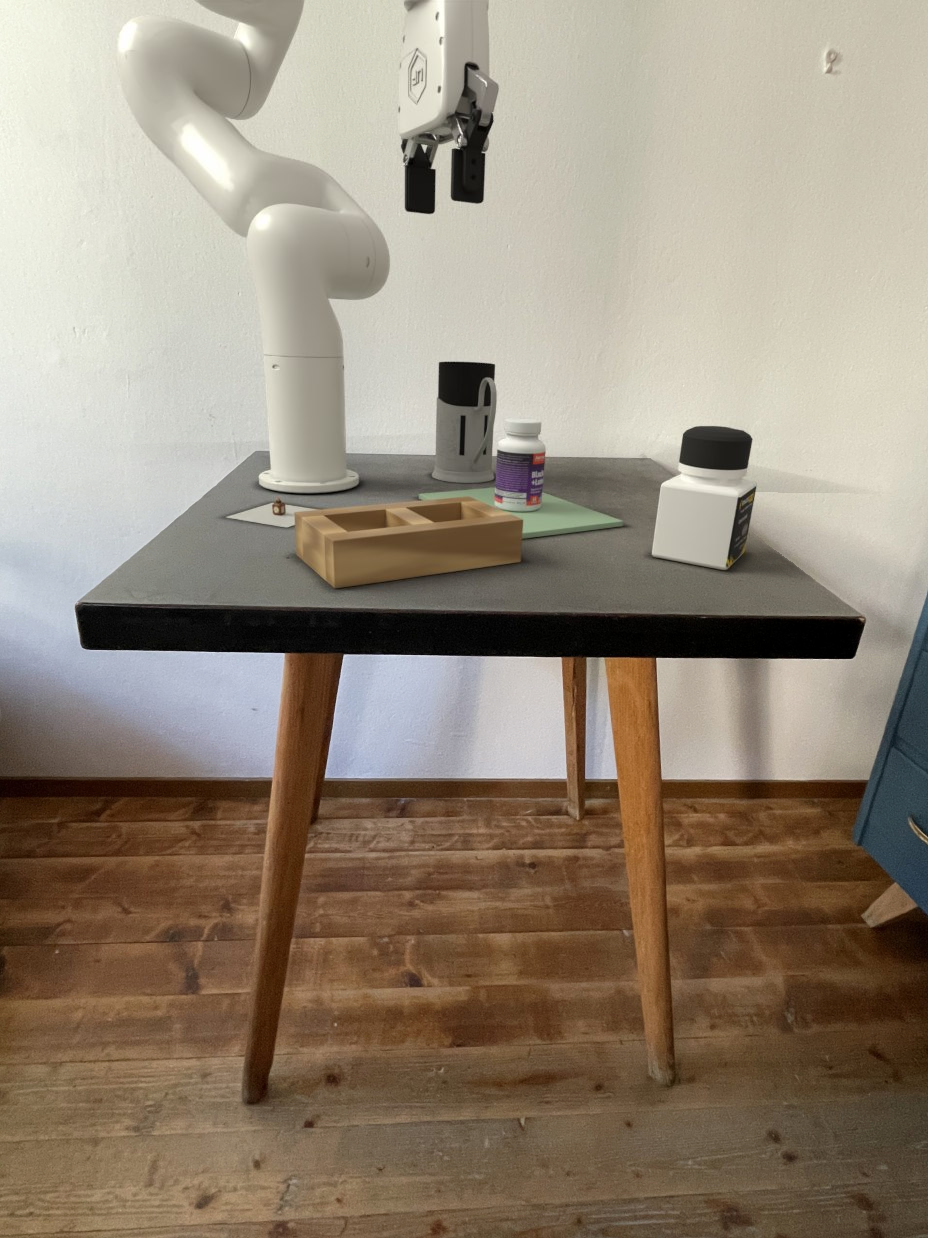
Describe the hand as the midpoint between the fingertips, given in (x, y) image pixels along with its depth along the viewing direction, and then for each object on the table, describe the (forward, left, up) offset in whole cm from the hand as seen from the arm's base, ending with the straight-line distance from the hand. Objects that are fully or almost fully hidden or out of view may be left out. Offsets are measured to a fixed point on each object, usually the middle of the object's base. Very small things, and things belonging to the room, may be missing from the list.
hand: (442, 207), depth 71 cm
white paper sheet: (-6, -16, -31) cm, 35 cm away
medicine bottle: (+24, +16, -31) cm, 42 cm away
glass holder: (-15, +13, -31) cm, 36 cm away
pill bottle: (+3, +9, -30) cm, 31 cm away
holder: (+14, -10, -30) cm, 35 cm away
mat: (+3, +9, -30) cm, 32 cm away
